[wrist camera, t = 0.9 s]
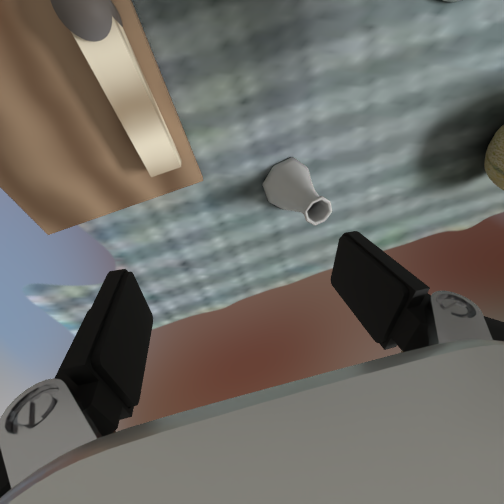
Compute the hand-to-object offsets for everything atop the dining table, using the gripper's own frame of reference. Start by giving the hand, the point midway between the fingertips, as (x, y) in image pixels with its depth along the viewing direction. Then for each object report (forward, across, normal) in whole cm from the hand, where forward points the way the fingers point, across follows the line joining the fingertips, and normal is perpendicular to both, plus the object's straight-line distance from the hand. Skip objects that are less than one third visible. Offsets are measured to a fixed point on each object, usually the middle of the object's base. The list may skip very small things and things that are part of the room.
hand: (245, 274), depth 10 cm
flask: (+23, -10, +4) cm, 25 cm away
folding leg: (+20, +6, -8) cm, 23 cm away
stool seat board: (+23, +13, -6) cm, 27 cm away
